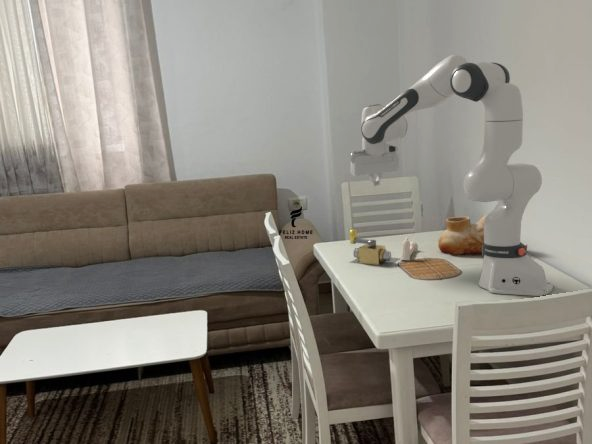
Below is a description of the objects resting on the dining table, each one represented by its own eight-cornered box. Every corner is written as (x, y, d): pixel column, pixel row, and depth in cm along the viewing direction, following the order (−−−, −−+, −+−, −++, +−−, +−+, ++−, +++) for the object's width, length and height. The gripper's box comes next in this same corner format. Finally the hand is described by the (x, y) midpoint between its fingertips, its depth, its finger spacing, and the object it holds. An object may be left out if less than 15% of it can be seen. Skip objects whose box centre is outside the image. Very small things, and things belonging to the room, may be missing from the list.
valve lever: (377, 245, 232) (377, 231, 231) (373, 247, 230) (373, 233, 229) (353, 243, 239) (352, 229, 238) (348, 244, 236) (348, 230, 235)
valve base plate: (401, 259, 236) (401, 258, 236) (388, 267, 226) (388, 266, 226) (363, 255, 245) (363, 254, 245) (349, 263, 235) (349, 262, 235)
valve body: (392, 261, 232) (392, 246, 231) (386, 266, 227) (385, 250, 226) (359, 258, 240) (358, 243, 238) (352, 262, 235) (351, 247, 233)
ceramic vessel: (510, 255, 233) (511, 216, 230) (439, 256, 237) (439, 218, 234) (504, 246, 246) (504, 209, 243) (436, 247, 250) (436, 211, 247)
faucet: (418, 263, 247) (419, 238, 248) (409, 260, 231) (411, 234, 232) (408, 262, 249) (409, 238, 250) (399, 259, 232) (400, 233, 233)
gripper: (355, 151, 224) (356, 189, 226) (401, 146, 233) (402, 183, 235) (346, 151, 229) (347, 187, 232) (391, 146, 238) (392, 181, 241)
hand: (375, 185), depth 234 cm, fingers closed
